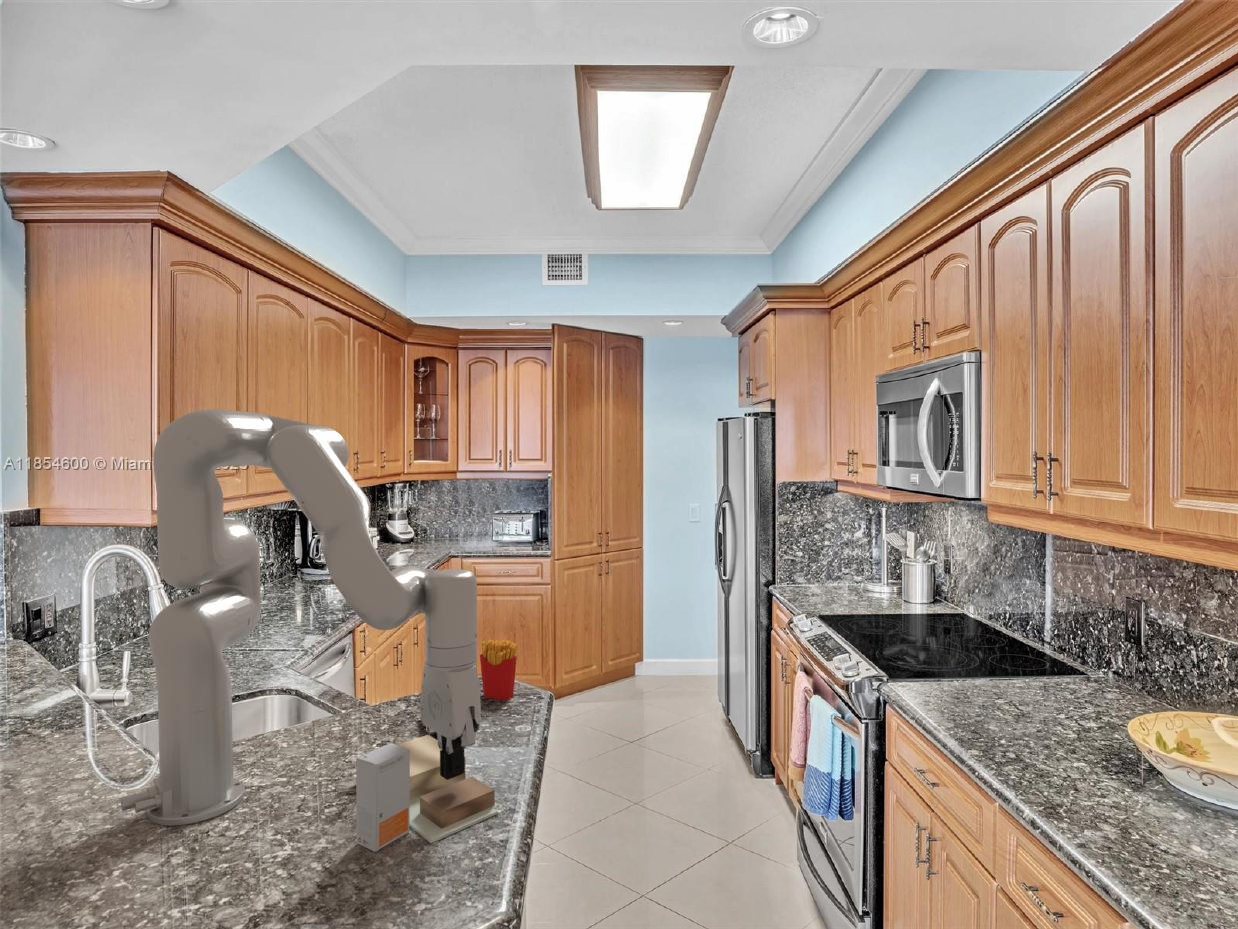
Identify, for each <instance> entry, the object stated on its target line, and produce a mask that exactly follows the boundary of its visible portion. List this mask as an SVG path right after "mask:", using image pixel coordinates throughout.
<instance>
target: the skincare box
mask: <svg viewBox="0 0 1238 929" xmlns="http://www.w3.org/2000/svg"><path fill="white" fill-rule="evenodd" d="M355 762H356V766H355V767H356V768H355V770H356V771H355V772H356V773H355V781H356V782H355V784H356V785H355V786H356V788H355V789H356V790H355V791H356V792H355V798H356V799H355V809H356V810H355V812H356V814H355V815H356V816H355V817H356V818H355V839H356V840H355V843H356V844H357V845H359V846H361V847H364V848H366V849H368V850H370V851H373V852H374V853H377V852H378V851H379V850H381V849H383V848H385V847H386V846H388V845H390V844H392V843H393V842H394V841H397V840H398V839H400V838H401V837H403V836H405V835H407V834H409V833H410V826H409V818H410V749H407V748H404V747H401V746H398V744H395V743H392V742H390V743H388V744H385V745H383V746H381V747H378V748H375V749H373V750H371V751H369V752H367V753H365V754H363V755H360V756H358V757H357V758H356V760H355Z"/></svg>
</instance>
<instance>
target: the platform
mask: <svg viewBox="0 0 1238 929" xmlns="http://www.w3.org/2000/svg"><path fill="white" fill-rule="evenodd" d="M397 745H398V746H401V747H404V748H407V749H410V800H412V799H414V798H417V797H420V796H422V795H425V794H427V793H430V792H432V791H435V790H438V789H440V788H443V787H445V786H448V785H451V784H453V783H457V782H459V781H462V780H464V779H467V778H466V756H465V755H464V773H463V774H462V775H459V776H456V777H454V778H451V779H448V780H446V779H445V778H444V777H442V776H440V750H442V749H439V747H438V740H436V739H434V738H433V737H431V736H429V734H426V735H424V736H420V737H416V738H413V739H411V740H407V741H404V742H401V743H399V744H397Z"/></svg>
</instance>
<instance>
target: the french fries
mask: <svg viewBox="0 0 1238 929" xmlns="http://www.w3.org/2000/svg"><path fill="white" fill-rule="evenodd" d="M517 649H518V644H517V643H515V642H513V641H511V640H509V639H507V640H506V639H504V638H503V639H501V640H498V639H496V640H495V639H488V640H487V641H486V640H483V641H482V642H481V650H482V653H481V654H479V659H480V671H481V681H482V691H483V692H482V693H483V694H482V695H483V697H485V698H487V699H491V698H494V699H493V700H497V699H498V700H499V701H506V700H510V699H511V698H513V697H514V693H515V692H514V690H515V679H516V669H517V668H516V667H517V655H516V654H517Z"/></svg>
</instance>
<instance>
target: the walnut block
mask: <svg viewBox="0 0 1238 929" xmlns="http://www.w3.org/2000/svg"><path fill="white" fill-rule="evenodd" d="M495 795H496V794H495V789H493V788H492V787H491V786H489V785H488V784H486V783H484V782H482V781H481V780H480V779H478V778H475V777H474V776H470V777H467V778H466V779H464V780H462V781H459V782H457V783H454V784H451V785H449V786H446V787H444V788H441V789H439V790H436V791H434V792H431V793H428V794H426V795H423V796H421V797H420V813H421V814H422V815H423V816H425V817H426V818H427V819H429V820H430V821H431V822H433V823H434V824H435V825H437V826H438V827H439V828H441V829H442V828H445V827H447V826H449V825H451V824H454V823H456V822H458V821H461V820H463V819H465V818H467V817H470V816H472V815H474V814H477V813H479V812H481V811H484V810H486V809H488V808H490V807H492V808H494V807H495V806H496V805H495V802H496V800H495Z"/></svg>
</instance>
